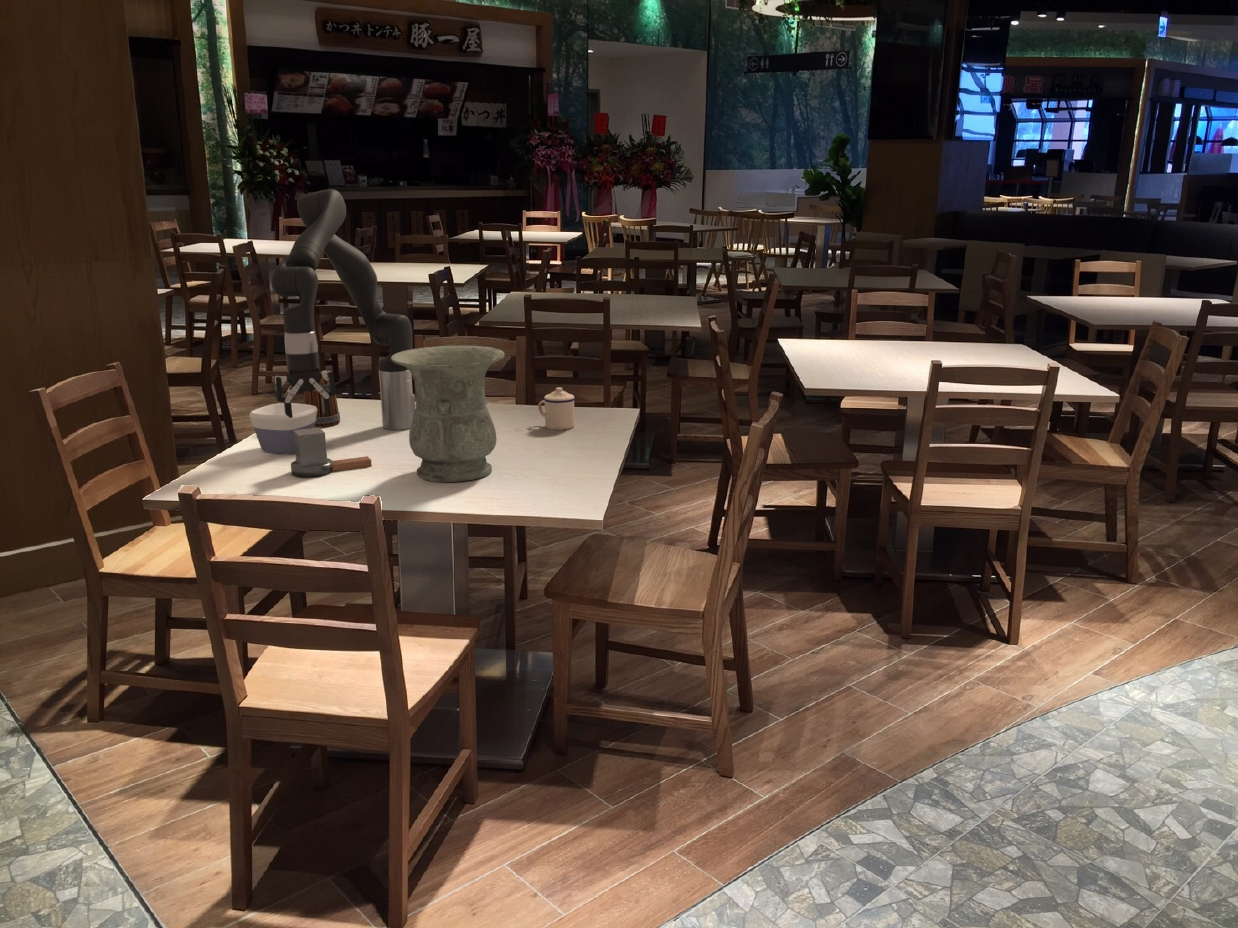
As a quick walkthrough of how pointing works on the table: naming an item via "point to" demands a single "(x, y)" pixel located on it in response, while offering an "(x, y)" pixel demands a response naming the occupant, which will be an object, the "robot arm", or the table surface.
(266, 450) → the bowl
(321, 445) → the grey rectangular block
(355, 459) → the dark handled piece
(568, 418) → the teacup with lid
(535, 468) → the table surface
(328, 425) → the mug
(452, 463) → the vessel
